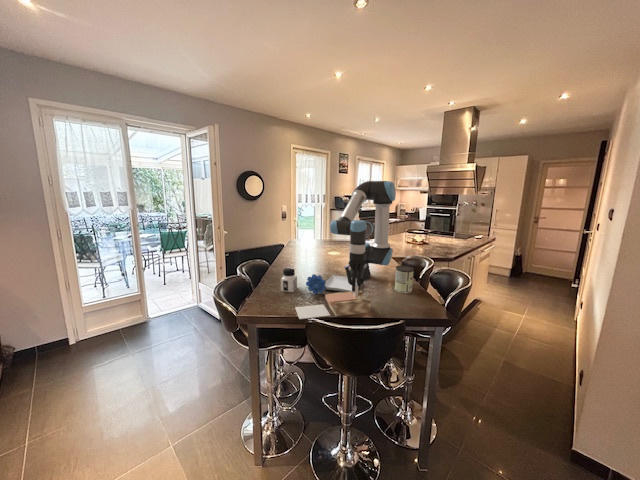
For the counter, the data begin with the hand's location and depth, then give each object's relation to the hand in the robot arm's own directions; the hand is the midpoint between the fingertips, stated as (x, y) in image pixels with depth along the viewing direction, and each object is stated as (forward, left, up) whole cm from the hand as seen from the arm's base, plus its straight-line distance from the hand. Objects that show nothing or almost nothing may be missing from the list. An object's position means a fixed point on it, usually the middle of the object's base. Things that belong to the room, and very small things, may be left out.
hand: (355, 297), depth 133 cm
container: (+29, -32, -6) cm, 44 cm away
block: (+8, 0, -1) cm, 8 cm away
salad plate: (-4, -29, -7) cm, 30 cm away
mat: (+22, -1, -6) cm, 23 cm away
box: (+3, 0, -6) cm, 7 cm away
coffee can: (-38, -16, -6) cm, 42 cm away
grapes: (+15, -21, -6) cm, 27 cm away
